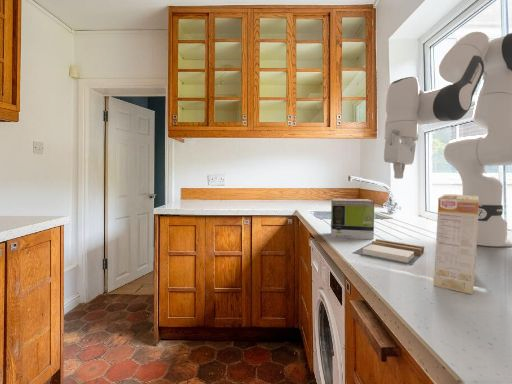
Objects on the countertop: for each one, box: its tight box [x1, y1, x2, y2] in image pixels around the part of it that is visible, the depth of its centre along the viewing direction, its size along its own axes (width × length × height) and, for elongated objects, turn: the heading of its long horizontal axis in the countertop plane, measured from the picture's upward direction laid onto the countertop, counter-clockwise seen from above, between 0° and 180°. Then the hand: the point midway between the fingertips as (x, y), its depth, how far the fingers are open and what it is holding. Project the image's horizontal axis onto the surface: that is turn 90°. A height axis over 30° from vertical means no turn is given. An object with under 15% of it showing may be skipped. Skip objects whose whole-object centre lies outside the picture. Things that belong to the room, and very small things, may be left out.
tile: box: [362, 244, 414, 265], centre depth 79 cm, size 2×12×7 cm
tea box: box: [330, 198, 375, 240], centre depth 106 cm, size 15×10×15 cm, turn 77°
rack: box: [371, 238, 425, 257], centre depth 87 cm, size 5×14×2 cm, turn 49°
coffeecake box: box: [433, 193, 479, 295], centre depth 63 cm, size 15×7×20 cm, turn 141°
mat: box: [352, 242, 424, 266], centre depth 83 cm, size 17×16×1 cm
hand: (398, 178), depth 84 cm, fingers closed
